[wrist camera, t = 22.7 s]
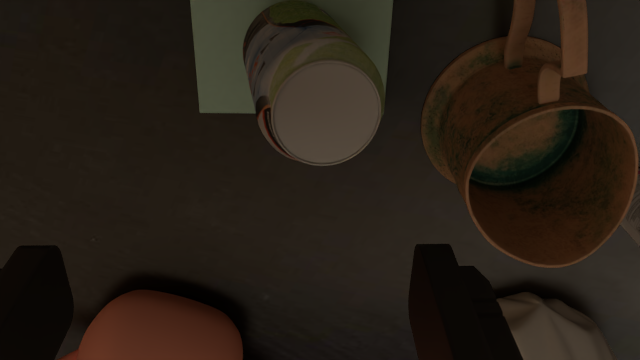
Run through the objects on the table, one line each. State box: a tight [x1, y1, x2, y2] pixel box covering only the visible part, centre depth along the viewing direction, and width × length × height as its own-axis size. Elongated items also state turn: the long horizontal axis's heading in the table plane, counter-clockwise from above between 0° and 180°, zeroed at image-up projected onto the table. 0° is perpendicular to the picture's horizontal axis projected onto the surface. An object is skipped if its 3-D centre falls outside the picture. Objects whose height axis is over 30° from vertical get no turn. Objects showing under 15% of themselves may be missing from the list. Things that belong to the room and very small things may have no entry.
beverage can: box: [243, 0, 385, 166], centre depth 30 cm, size 6×7×12 cm
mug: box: [421, 0, 638, 268], centre depth 34 cm, size 12×18×12 cm, turn 12°
